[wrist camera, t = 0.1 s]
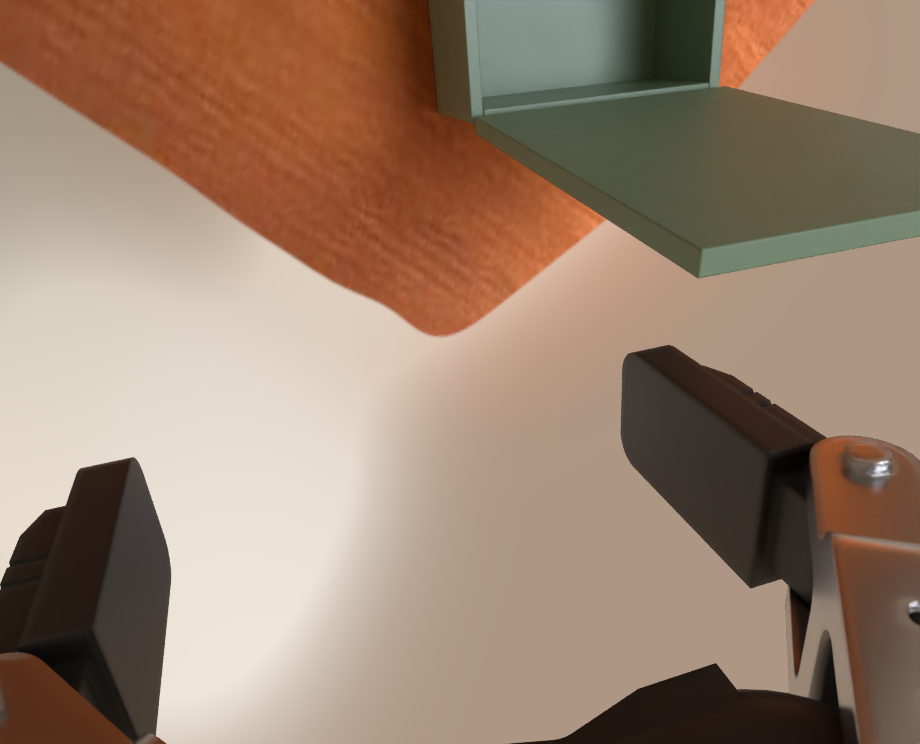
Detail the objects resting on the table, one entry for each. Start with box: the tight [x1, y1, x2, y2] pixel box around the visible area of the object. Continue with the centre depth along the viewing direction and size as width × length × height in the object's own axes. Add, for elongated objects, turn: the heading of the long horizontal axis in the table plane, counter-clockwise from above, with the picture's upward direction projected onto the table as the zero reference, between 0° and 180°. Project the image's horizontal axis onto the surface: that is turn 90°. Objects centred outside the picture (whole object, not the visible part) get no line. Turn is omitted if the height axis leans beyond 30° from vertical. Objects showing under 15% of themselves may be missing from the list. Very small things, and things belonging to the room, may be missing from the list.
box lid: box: [475, 86, 920, 278], centre depth 27 cm, size 18×13×1 cm
